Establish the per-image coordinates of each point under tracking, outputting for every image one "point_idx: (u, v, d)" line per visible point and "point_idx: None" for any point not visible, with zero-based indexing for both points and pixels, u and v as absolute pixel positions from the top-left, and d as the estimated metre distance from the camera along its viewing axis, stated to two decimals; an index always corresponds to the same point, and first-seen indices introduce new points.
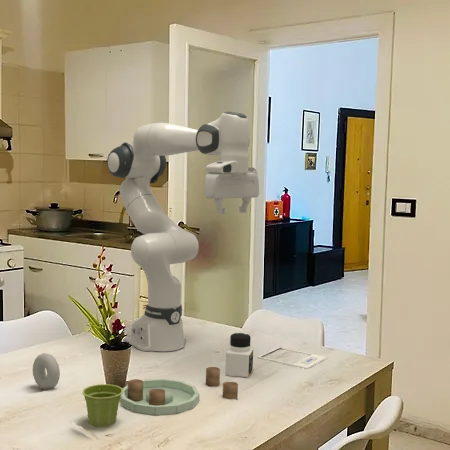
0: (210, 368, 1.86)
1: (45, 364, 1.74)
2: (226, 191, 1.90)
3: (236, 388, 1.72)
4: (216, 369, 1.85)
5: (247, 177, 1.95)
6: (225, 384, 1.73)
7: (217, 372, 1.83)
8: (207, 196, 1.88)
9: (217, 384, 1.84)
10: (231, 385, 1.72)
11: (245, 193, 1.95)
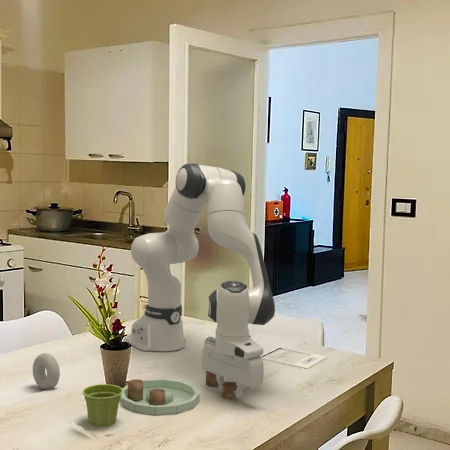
0: None
1: (45, 364, 1.74)
2: None
3: (236, 388, 1.72)
4: None
5: None
6: (225, 384, 1.73)
7: None
8: (256, 385, 1.65)
9: (217, 384, 1.84)
10: (231, 385, 1.72)
11: None
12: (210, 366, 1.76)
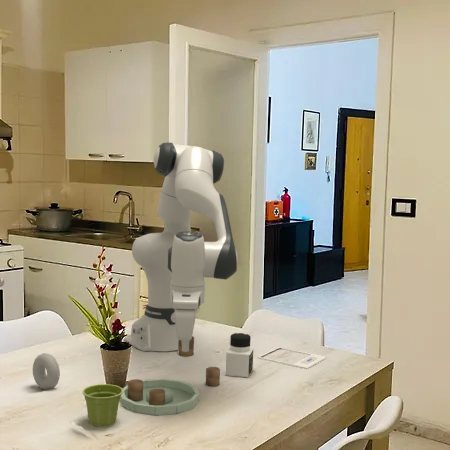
0: (210, 368, 1.86)
1: (45, 364, 1.74)
2: None
3: None
4: (216, 369, 1.85)
5: None
6: None
7: (217, 372, 1.83)
8: (181, 338, 1.57)
9: (217, 384, 1.84)
10: None
11: (194, 321, 1.71)
12: None
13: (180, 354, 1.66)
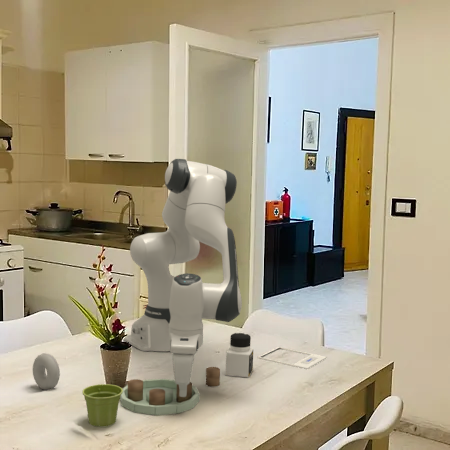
0: (210, 368, 1.86)
1: (45, 364, 1.74)
2: None
3: None
4: (216, 369, 1.85)
5: None
6: None
7: (217, 372, 1.83)
8: (179, 383, 1.58)
9: (217, 384, 1.84)
10: None
11: None
12: None
13: (178, 400, 1.68)
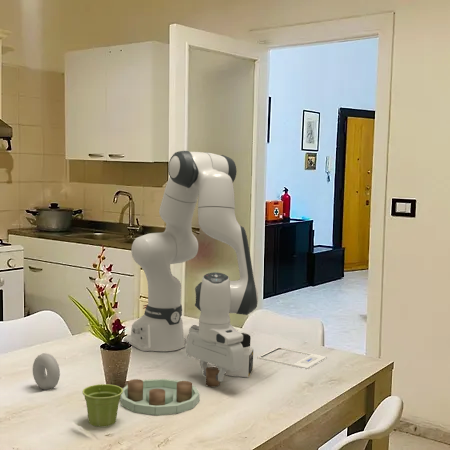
0: (210, 368, 1.86)
1: (45, 364, 1.74)
2: None
3: (185, 388, 1.67)
4: (216, 369, 1.85)
5: None
6: (180, 382, 1.69)
7: (217, 372, 1.83)
8: (236, 369, 1.77)
9: (217, 384, 1.84)
10: (183, 384, 1.68)
11: None
12: (194, 353, 1.88)
13: (178, 400, 1.68)
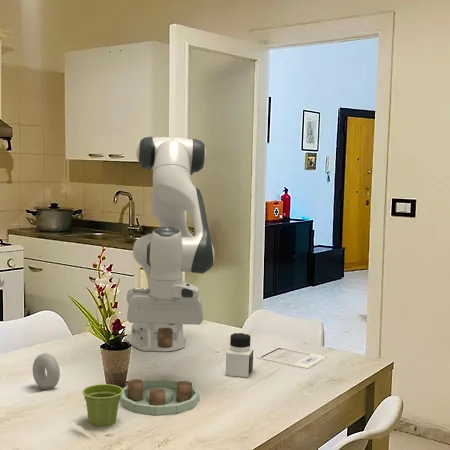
0: (161, 329, 1.74)
1: (45, 364, 1.74)
2: None
3: (185, 388, 1.67)
4: (168, 329, 1.74)
5: None
6: (179, 382, 1.69)
7: (172, 331, 1.74)
8: (201, 322, 1.73)
9: None
10: (183, 384, 1.68)
11: None
12: (141, 317, 1.72)
13: (178, 400, 1.68)
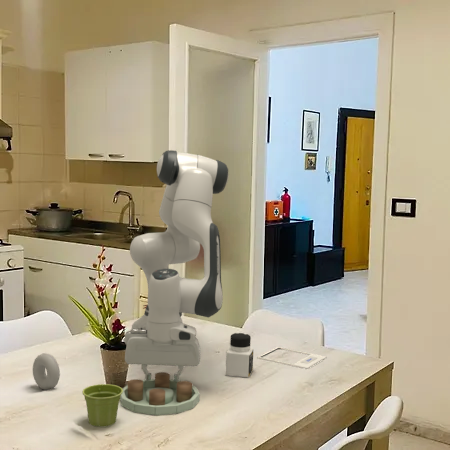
0: (158, 374, 1.75)
1: (45, 364, 1.74)
2: None
3: (185, 388, 1.67)
4: (166, 374, 1.75)
5: None
6: (179, 382, 1.69)
7: (169, 376, 1.75)
8: (199, 363, 1.74)
9: None
10: (183, 384, 1.68)
11: None
12: (139, 359, 1.73)
13: (178, 400, 1.68)
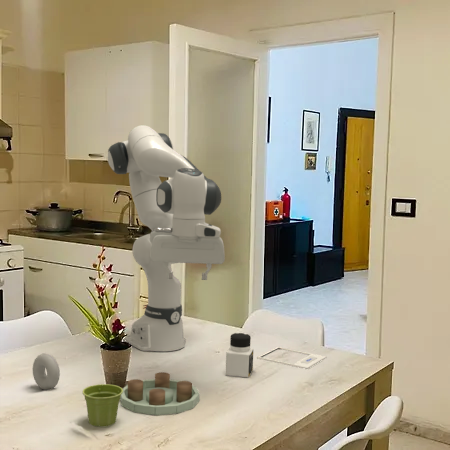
0: (158, 374, 1.75)
1: (45, 364, 1.74)
2: None
3: (185, 388, 1.67)
4: (166, 374, 1.75)
5: None
6: (179, 382, 1.69)
7: (169, 376, 1.75)
8: (223, 261, 1.76)
9: None
10: (183, 384, 1.68)
11: None
12: (164, 256, 1.75)
13: (178, 400, 1.68)
